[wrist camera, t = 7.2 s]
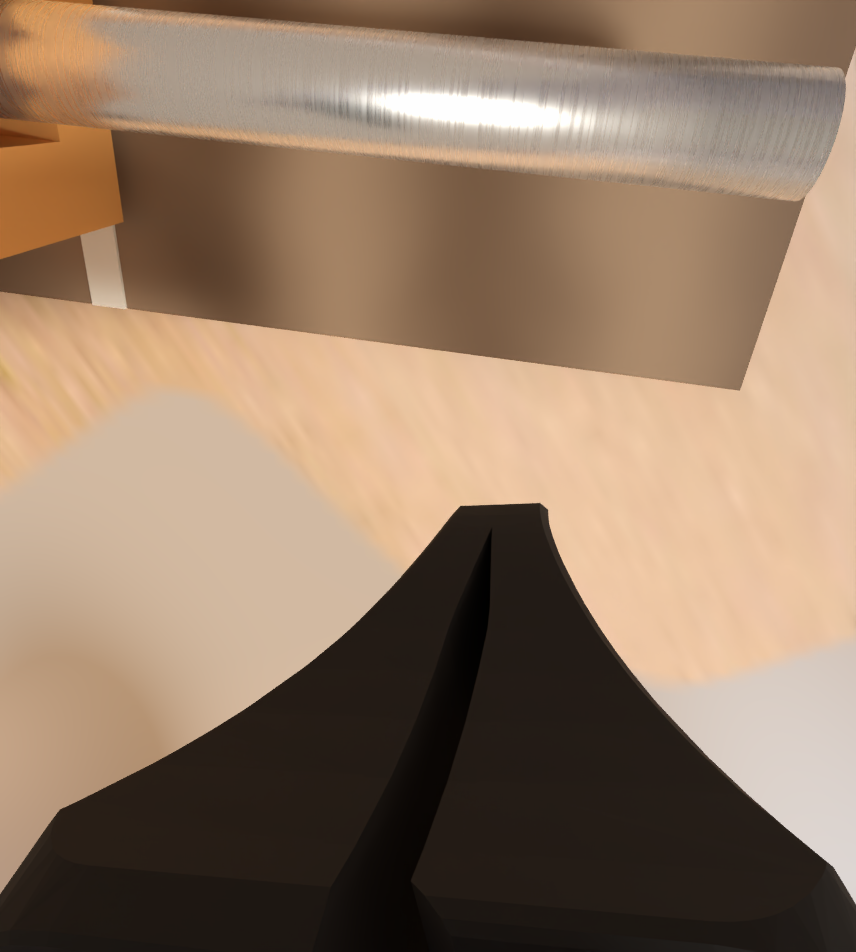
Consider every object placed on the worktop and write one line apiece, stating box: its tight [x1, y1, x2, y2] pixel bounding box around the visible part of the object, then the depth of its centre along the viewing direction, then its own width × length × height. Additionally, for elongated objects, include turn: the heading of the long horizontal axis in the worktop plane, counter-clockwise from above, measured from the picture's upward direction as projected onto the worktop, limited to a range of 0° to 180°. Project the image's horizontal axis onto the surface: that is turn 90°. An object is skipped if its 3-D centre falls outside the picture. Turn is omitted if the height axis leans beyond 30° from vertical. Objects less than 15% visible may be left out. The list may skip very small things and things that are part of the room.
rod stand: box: [0, 0, 856, 390], centre depth 14 cm, size 26×12×7 cm, turn 85°
